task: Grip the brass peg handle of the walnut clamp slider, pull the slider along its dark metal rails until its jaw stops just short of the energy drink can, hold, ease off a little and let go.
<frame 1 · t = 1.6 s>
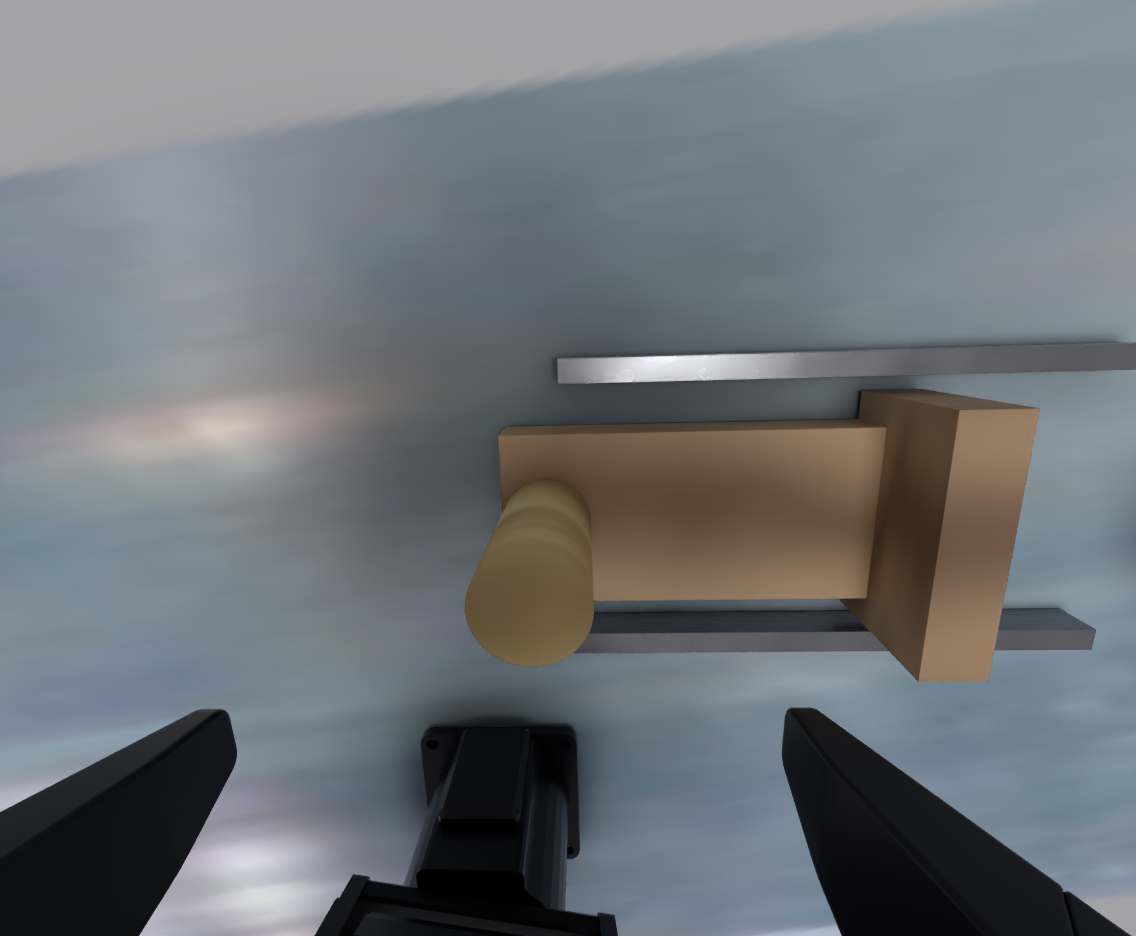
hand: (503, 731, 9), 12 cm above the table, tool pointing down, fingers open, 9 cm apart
clamp slider: (734, 542, 16), point 4 cm above the table, slide at 0.0 cm
clamp rails: (819, 498, 20), on the table
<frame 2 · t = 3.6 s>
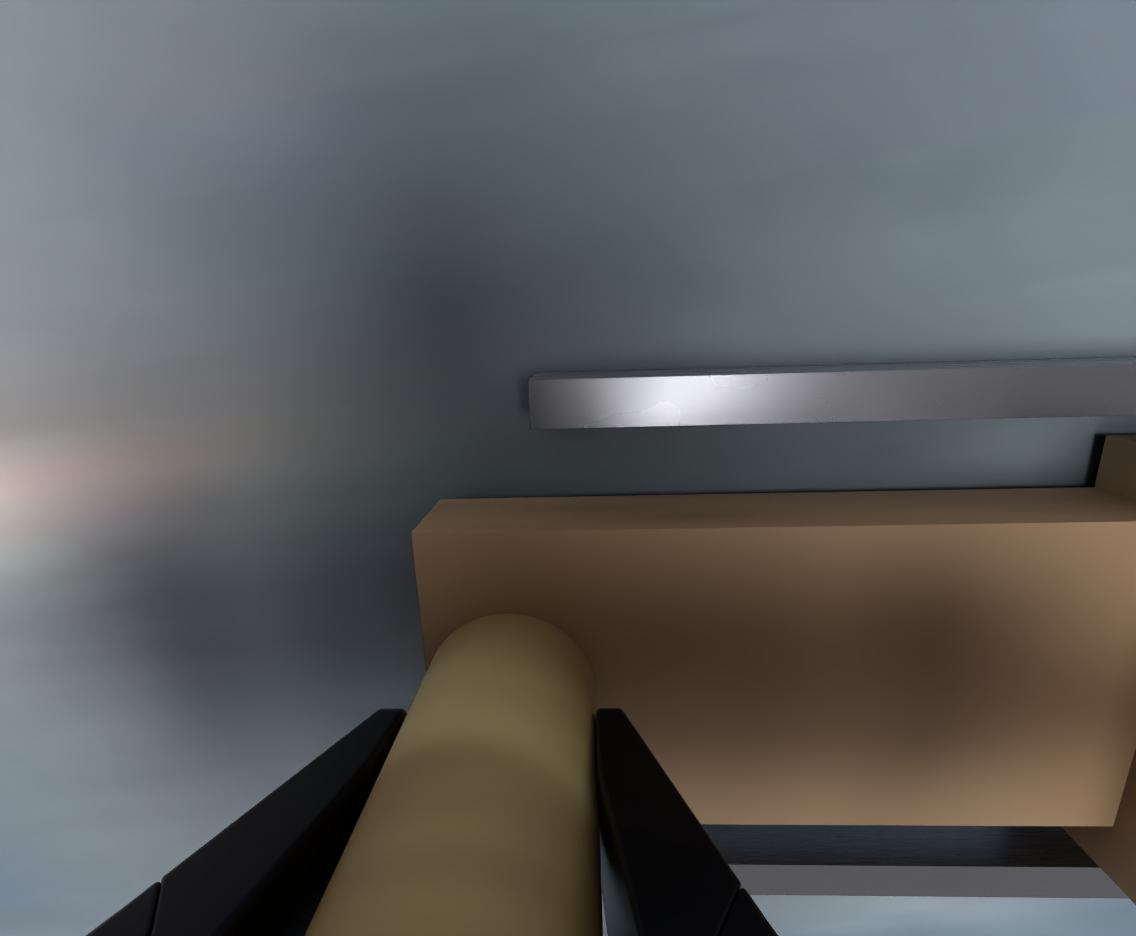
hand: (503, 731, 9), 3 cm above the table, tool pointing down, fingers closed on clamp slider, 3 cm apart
clamp slider: (911, 788, 7), point 4 cm above the table, slide at 0.0 cm, touching gripper
clamp rails: (1004, 623, 11), on the table
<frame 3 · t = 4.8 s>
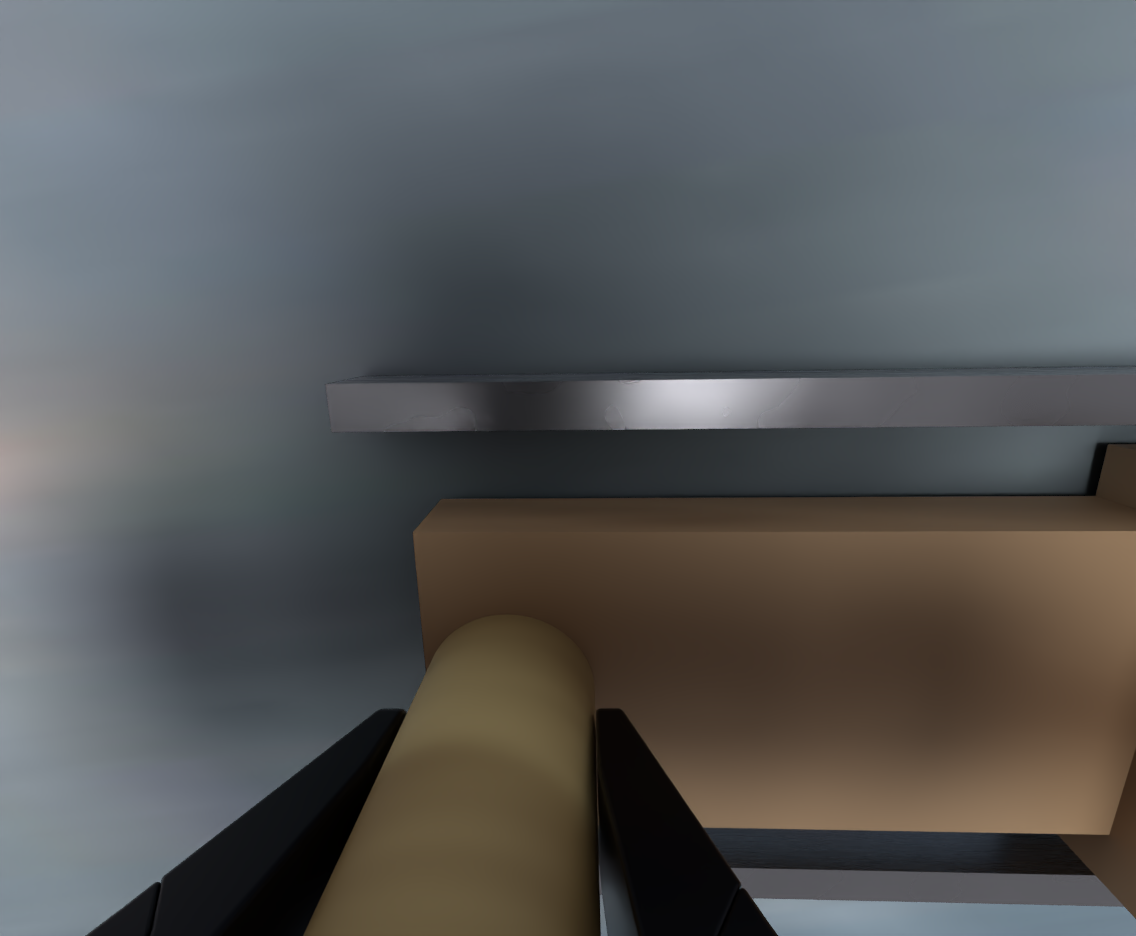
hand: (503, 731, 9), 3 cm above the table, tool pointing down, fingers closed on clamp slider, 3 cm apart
clamp slider: (909, 794, 7), point 4 cm above the table, slide at 3.4 cm, touching gripper
clamp rails: (836, 630, 11), on the table
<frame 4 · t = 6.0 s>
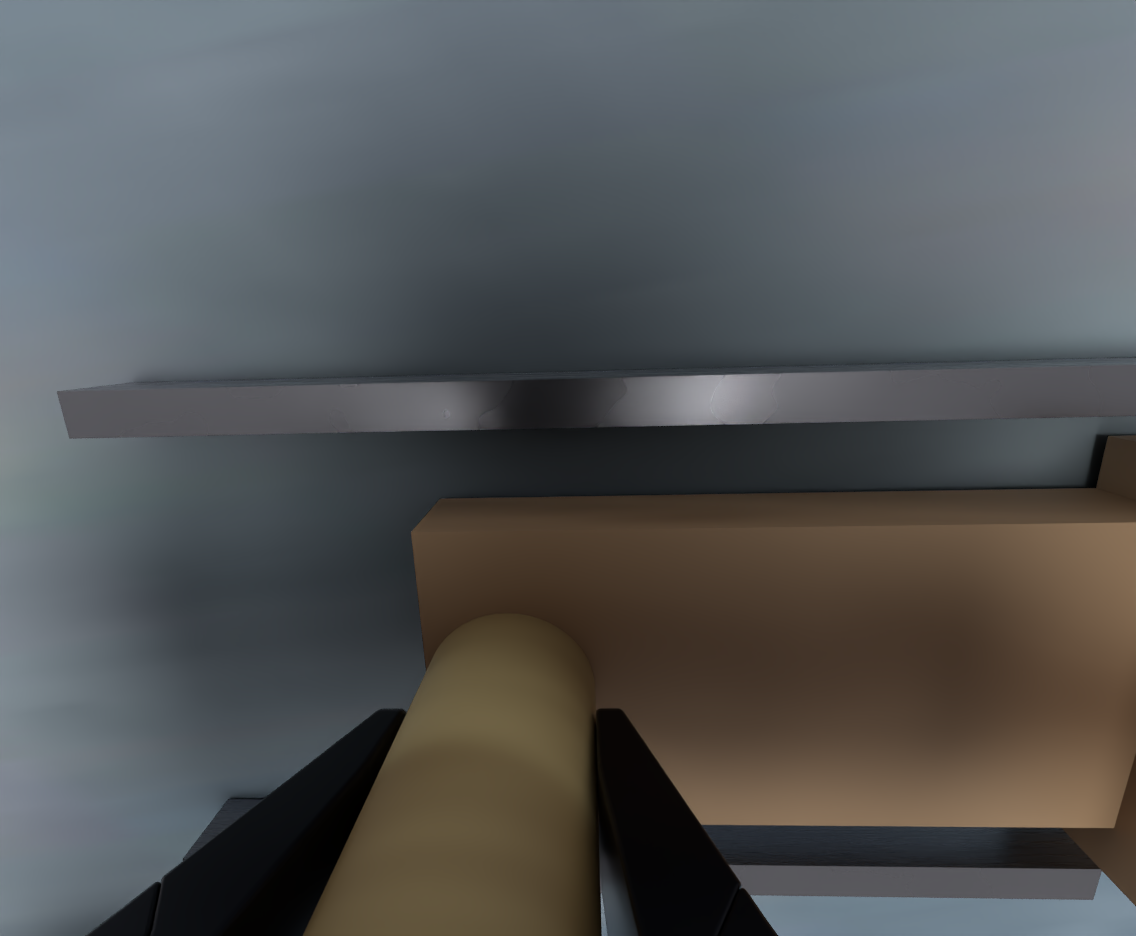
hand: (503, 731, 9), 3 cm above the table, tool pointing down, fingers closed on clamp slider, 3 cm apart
clamp slider: (911, 789, 7), point 4 cm above the table, slide at 7.9 cm, touching gripper
clamp rails: (621, 627, 11), on the table
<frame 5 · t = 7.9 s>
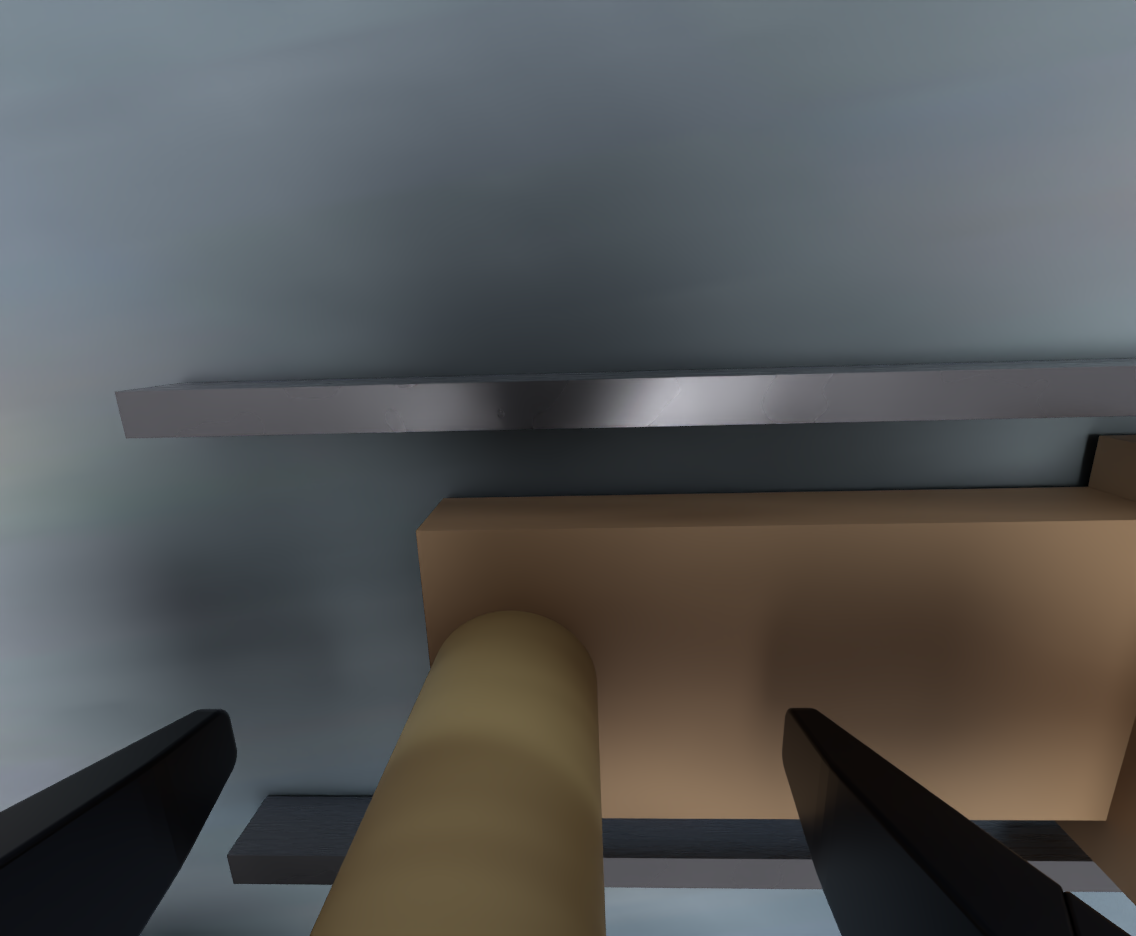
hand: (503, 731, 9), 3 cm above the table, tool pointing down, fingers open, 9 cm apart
clamp slider: (906, 780, 7), point 4 cm above the table, slide at 7.1 cm
clamp rails: (661, 624, 11), on the table
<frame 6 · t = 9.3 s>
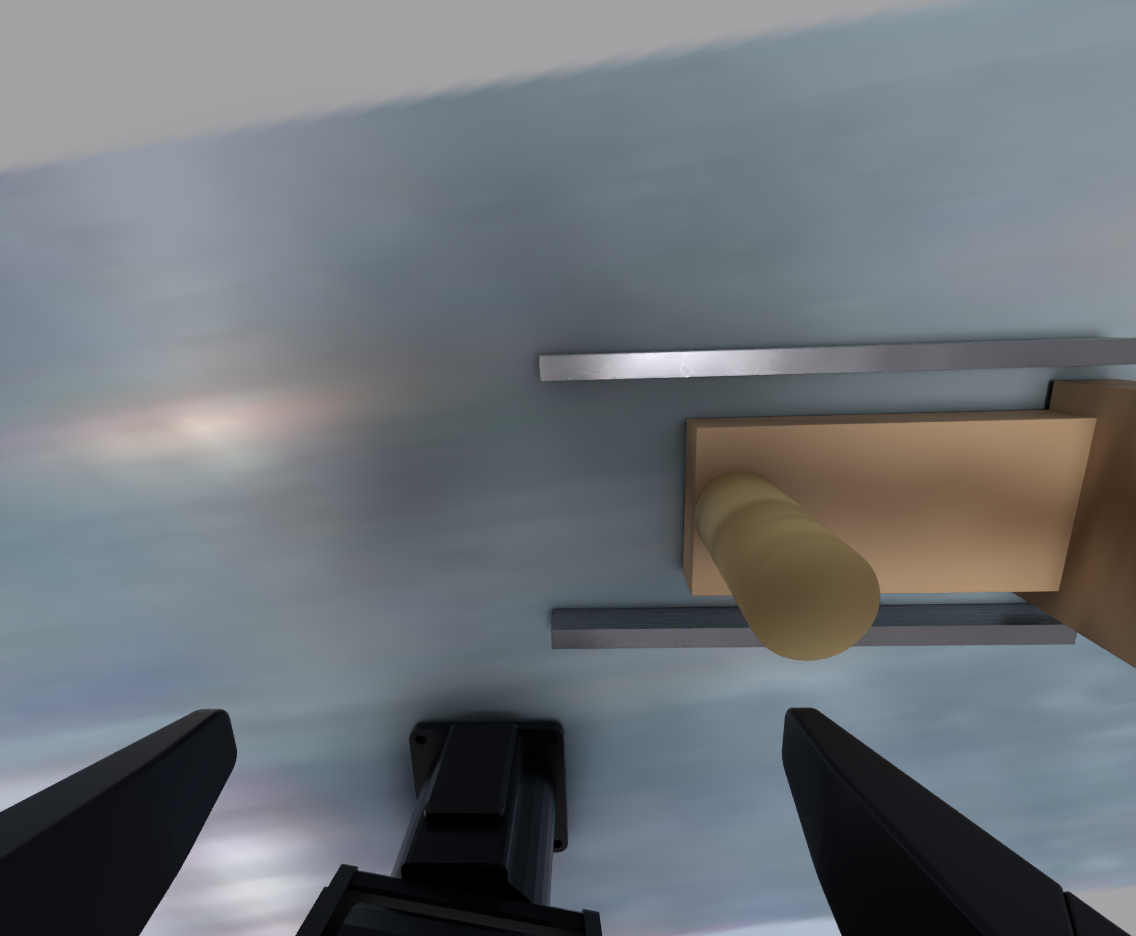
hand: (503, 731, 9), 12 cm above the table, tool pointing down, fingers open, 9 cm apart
clamp slider: (956, 534, 16), point 4 cm above the table, slide at 7.1 cm
clamp rails: (803, 494, 20), on the table
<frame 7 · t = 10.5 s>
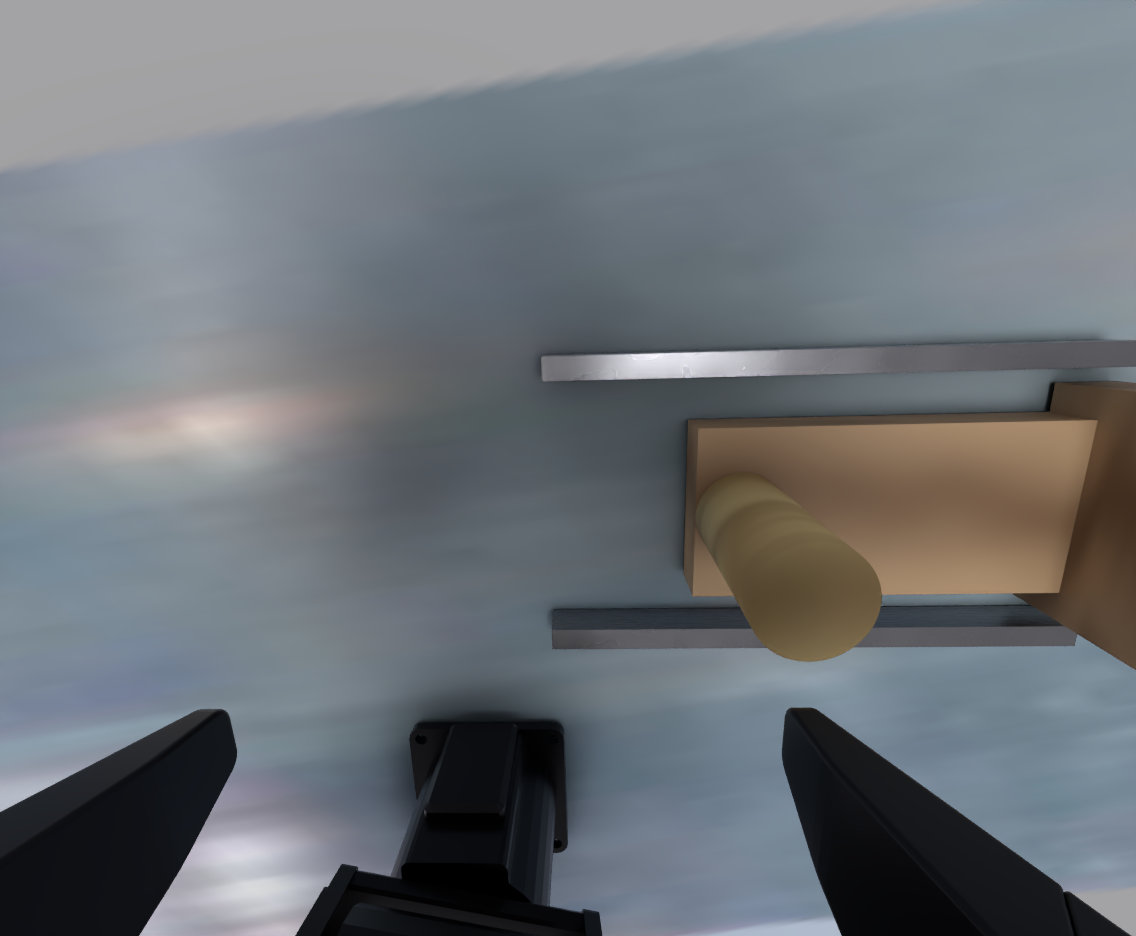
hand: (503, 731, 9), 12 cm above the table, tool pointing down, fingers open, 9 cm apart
clamp slider: (957, 536, 16), point 4 cm above the table, slide at 7.1 cm
clamp rails: (804, 495, 20), on the table
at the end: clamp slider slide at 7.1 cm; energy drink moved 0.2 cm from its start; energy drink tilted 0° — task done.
